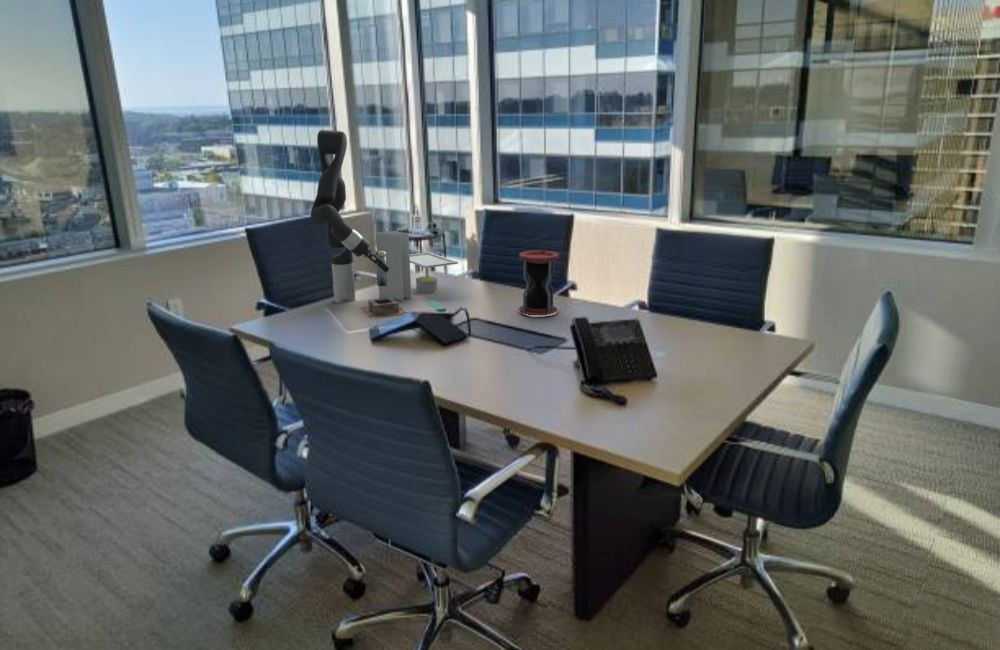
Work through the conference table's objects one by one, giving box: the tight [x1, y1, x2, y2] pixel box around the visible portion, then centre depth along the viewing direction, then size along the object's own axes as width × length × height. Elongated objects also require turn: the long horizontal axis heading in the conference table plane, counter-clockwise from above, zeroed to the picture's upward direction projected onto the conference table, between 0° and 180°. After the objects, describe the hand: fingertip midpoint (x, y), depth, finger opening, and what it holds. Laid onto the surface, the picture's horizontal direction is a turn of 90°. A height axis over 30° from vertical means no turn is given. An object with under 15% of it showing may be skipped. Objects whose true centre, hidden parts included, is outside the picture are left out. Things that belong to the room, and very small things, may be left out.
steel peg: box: [374, 250, 387, 287], centre depth 281 cm, size 4×4×14 cm
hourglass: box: [518, 249, 560, 315], centre depth 284 cm, size 16×16×25 cm
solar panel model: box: [410, 251, 459, 294], centre depth 322 cm, size 28×17×15 cm, turn 34°
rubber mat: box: [424, 300, 447, 312], centre depth 294 cm, size 14×12×1 cm
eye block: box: [358, 297, 408, 320], centre depth 286 cm, size 20×16×5 cm
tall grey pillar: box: [375, 230, 412, 301], centre depth 304 cm, size 14×6×30 cm, turn 58°
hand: (386, 269), depth 282 cm, fingers closed on steel peg, 4 cm apart
